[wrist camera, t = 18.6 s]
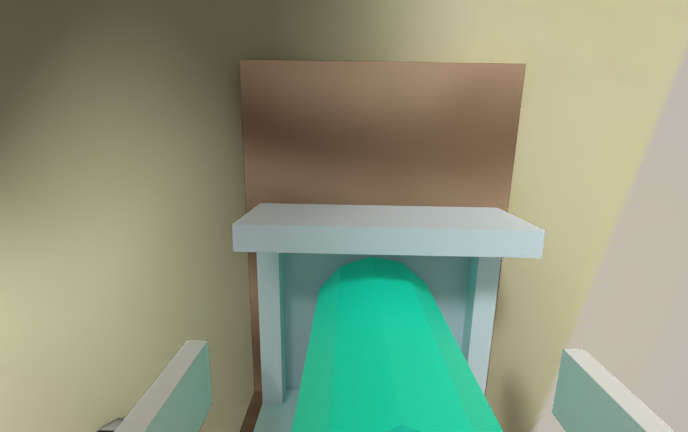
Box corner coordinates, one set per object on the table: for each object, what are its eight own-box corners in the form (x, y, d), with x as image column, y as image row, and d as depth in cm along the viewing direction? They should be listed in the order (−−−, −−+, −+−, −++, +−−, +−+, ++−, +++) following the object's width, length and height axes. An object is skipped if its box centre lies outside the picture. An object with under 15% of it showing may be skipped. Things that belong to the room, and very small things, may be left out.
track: (244, 63, 17) (172, 13, 10) (517, 67, 17) (633, 19, 10) (259, 410, 21) (216, 541, 14) (476, 416, 21) (537, 550, 14)
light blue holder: (264, 200, 17) (231, 224, 12) (490, 204, 17) (545, 230, 12) (270, 394, 20) (245, 477, 15) (469, 399, 20) (508, 484, 15)
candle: (456, 288, 17) (683, 612, 6) (398, 384, 18) (483, 814, 7) (346, 236, 17) (340, 468, 5) (294, 337, 18) (190, 715, 6)
